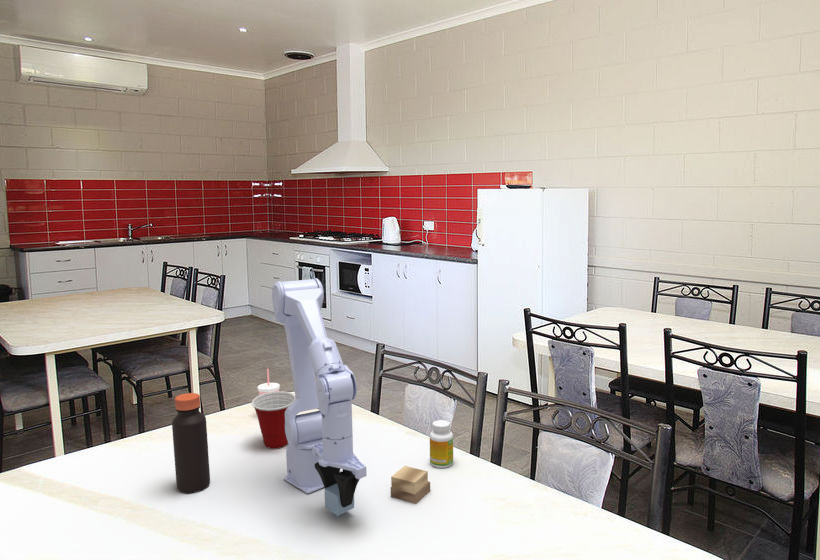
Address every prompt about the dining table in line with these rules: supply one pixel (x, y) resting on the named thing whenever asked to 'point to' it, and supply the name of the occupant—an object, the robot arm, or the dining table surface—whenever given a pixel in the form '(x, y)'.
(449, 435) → the supplement bottle
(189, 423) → the vinegar
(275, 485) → the dining table surface
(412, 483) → the oak slab
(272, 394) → the plastic cup
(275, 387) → the beverage cup
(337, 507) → the slate blue cube
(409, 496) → the walnut slab
